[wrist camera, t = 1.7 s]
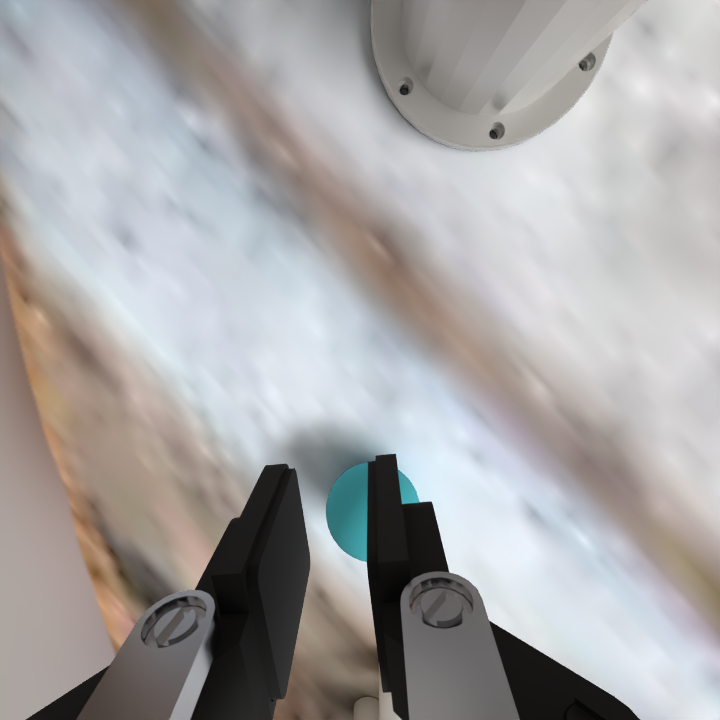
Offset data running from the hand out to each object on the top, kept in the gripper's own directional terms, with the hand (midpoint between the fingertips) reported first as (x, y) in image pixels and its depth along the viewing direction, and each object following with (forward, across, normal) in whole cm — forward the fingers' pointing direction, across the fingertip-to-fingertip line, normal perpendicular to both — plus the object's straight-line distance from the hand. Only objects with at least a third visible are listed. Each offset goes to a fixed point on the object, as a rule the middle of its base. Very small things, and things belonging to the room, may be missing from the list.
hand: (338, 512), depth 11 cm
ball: (+14, 0, +10) cm, 17 cm away
